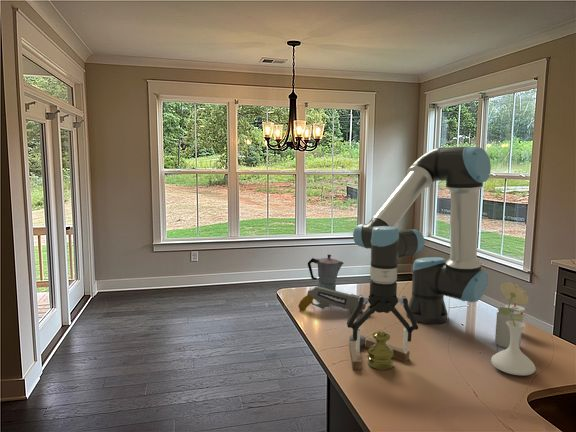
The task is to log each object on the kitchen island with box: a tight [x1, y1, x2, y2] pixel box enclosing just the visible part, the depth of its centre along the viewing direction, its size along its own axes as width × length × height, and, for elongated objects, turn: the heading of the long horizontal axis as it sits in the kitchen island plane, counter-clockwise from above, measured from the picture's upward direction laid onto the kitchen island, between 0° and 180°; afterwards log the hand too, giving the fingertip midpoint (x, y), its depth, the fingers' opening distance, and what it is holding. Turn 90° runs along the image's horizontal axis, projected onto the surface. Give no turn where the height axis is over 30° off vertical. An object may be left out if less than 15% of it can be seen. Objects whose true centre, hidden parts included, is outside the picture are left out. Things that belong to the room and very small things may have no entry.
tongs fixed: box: [348, 334, 367, 371], centre depth 129 cm, size 5×20×2 cm, turn 176°
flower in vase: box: [490, 281, 537, 376], centre depth 120 cm, size 13×11×25 cm
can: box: [494, 307, 524, 350], centre depth 136 cm, size 8×8×12 cm
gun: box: [297, 285, 369, 313], centre depth 168 cm, size 3×25×15 cm, turn 87°
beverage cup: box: [504, 303, 526, 315], centre depth 147 cm, size 6×6×14 cm
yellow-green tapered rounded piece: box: [367, 330, 394, 371], centre depth 123 cm, size 7×7×10 cm
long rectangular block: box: [365, 337, 410, 362], centre depth 131 cm, size 2×14×2 cm, turn 46°
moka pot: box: [307, 254, 344, 291], centre depth 181 cm, size 10×15×20 cm, turn 89°
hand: (381, 350), depth 123 cm, fingers open, 13 cm apart
